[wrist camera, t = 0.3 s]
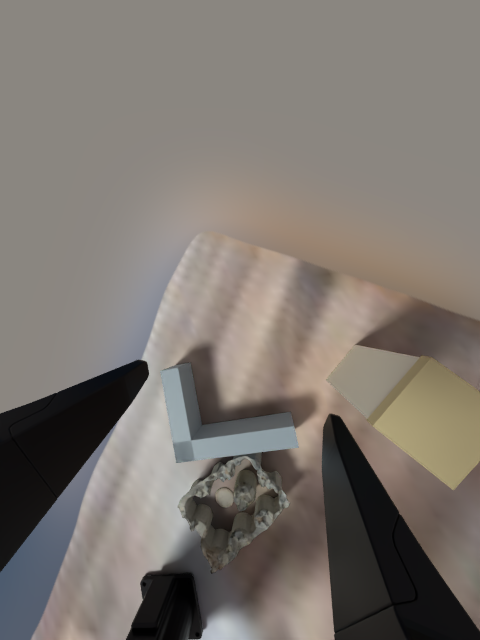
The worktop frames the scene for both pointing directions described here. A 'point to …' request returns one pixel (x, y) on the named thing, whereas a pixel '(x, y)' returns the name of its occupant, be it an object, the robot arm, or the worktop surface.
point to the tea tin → (415, 407)
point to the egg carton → (245, 528)
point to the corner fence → (218, 424)
